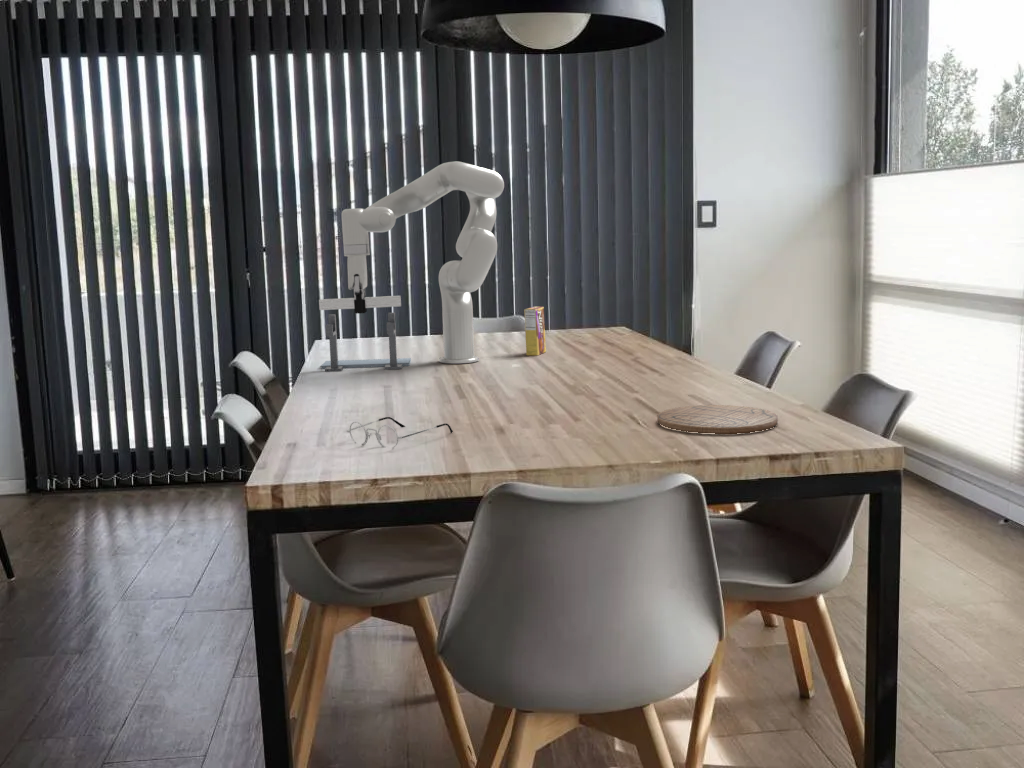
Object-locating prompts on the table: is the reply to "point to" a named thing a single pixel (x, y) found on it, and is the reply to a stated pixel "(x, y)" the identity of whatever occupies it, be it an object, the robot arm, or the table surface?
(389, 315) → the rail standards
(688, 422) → the trivet
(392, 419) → the eyeglasses
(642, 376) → the table surface
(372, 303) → the steel rail
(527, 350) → the candy box
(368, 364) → the rubber mat
